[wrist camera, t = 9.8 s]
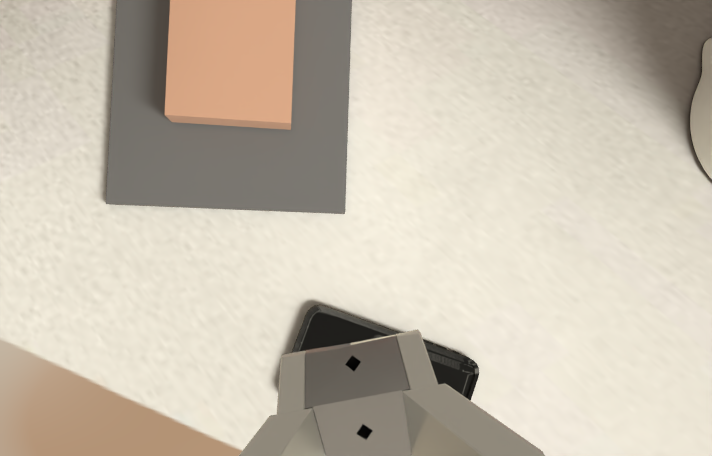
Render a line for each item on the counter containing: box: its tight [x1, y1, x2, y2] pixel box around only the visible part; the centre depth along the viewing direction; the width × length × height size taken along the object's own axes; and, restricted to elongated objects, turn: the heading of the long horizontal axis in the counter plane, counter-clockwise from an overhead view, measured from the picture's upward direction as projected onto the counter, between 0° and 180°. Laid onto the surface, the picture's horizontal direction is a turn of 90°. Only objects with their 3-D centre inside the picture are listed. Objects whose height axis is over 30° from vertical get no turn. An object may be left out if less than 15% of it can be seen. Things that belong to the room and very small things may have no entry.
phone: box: [292, 305, 479, 400], centre depth 37 cm, size 8×1×15 cm
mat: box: [106, 0, 352, 214], centre depth 37 cm, size 22×18×1 cm
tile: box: [165, 0, 296, 130], centre depth 35 cm, size 2×9×12 cm
